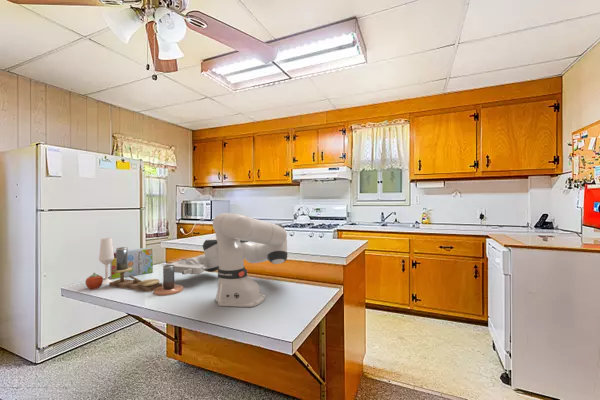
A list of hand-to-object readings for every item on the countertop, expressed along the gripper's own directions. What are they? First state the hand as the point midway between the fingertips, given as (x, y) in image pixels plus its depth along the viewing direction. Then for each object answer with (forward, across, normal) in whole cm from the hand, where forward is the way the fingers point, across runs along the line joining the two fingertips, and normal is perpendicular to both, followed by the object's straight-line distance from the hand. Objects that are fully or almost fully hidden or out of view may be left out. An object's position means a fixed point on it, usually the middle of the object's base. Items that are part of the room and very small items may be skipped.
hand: (175, 272), depth 146 cm
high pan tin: (+5, +30, +1) cm, 30 cm away
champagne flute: (+4, +42, -8) cm, 43 cm away
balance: (+5, +21, -8) cm, 23 cm away
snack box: (-12, +42, -8) cm, 44 cm away
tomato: (+13, +39, -8) cm, 42 cm away
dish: (+5, 0, -8) cm, 9 cm away
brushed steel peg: (+5, 0, -7) cm, 8 cm away
